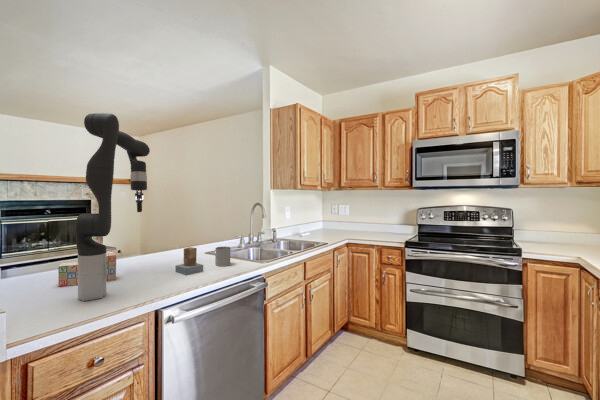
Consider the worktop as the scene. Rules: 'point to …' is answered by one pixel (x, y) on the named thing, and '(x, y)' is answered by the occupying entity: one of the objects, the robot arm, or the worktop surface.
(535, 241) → the worktop surface
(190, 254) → the walnut block
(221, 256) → the cup
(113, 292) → the worktop surface
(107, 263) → the stack of blocks
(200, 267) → the slate block
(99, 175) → the robot arm
